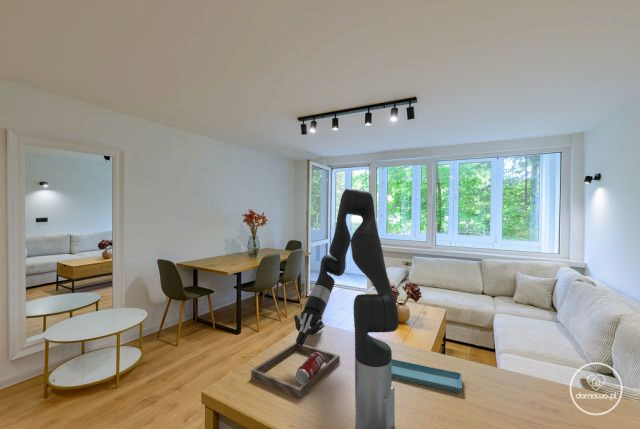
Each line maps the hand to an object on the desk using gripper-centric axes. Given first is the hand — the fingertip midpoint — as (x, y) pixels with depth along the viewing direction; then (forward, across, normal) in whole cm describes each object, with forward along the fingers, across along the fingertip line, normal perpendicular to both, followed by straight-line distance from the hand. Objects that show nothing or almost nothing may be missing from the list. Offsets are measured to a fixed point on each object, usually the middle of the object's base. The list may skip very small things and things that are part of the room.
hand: (298, 344), depth 99 cm
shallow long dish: (-6, +36, +18) cm, 41 cm away
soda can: (+1, +5, +7) cm, 9 cm away
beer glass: (-14, -12, +27) cm, 33 cm away
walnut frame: (+7, 0, +5) cm, 8 cm away
